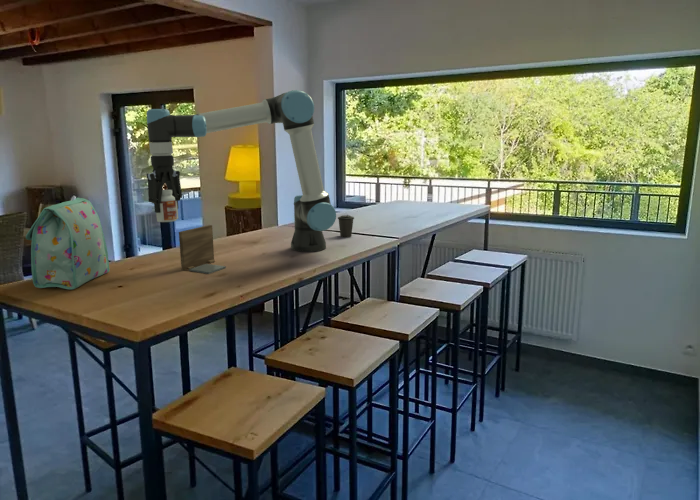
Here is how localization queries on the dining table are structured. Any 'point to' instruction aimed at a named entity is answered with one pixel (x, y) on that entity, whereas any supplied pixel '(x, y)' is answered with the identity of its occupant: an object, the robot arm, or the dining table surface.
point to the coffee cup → (345, 225)
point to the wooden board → (196, 247)
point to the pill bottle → (168, 206)
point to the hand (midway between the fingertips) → (167, 219)
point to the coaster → (207, 268)
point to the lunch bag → (67, 245)
